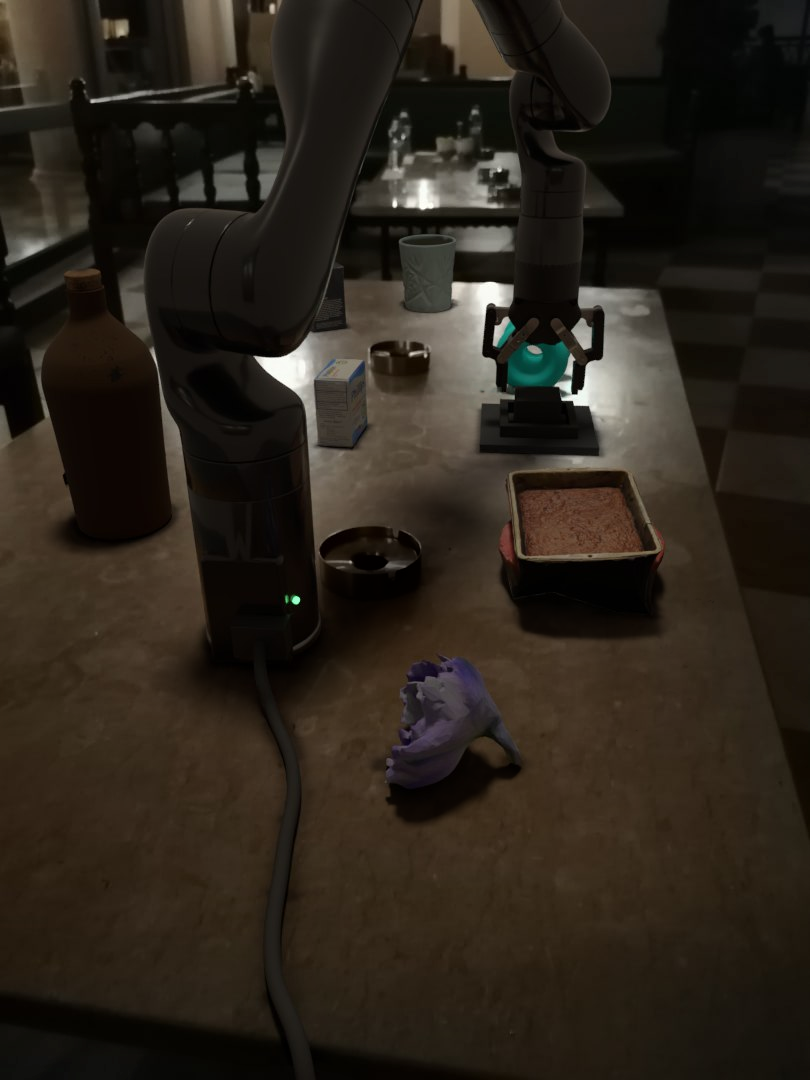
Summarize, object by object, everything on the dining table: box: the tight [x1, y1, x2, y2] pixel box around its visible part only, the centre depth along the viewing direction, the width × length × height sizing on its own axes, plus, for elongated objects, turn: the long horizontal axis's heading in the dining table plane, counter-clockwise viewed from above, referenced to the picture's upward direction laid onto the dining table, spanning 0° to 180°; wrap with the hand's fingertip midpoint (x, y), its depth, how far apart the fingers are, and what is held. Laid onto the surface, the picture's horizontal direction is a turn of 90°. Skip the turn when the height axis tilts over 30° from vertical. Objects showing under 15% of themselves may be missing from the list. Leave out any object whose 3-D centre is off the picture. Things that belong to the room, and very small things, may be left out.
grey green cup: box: [398, 233, 457, 313], centre depth 164 cm, size 10×10×12 cm
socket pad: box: [478, 398, 600, 456], centre depth 113 cm, size 14×14×2 cm
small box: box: [311, 261, 348, 333], centre depth 156 cm, size 11×6×10 cm, turn 25°
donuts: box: [494, 320, 572, 390], centre depth 127 cm, size 10×10×10 cm
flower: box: [384, 652, 522, 790], centre depth 60 cm, size 9×9×10 cm
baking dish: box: [497, 466, 666, 616], centre depth 81 cm, size 14×18×10 cm
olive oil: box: [40, 268, 173, 541], centre depth 87 cm, size 11×11×25 cm
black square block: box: [513, 386, 563, 424], centre depth 112 cm, size 6×6×4 cm
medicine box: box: [313, 358, 368, 448], centre depth 111 cm, size 8×4×9 cm, turn 168°
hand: (539, 391), depth 111 cm, fingers open, 8 cm apart
